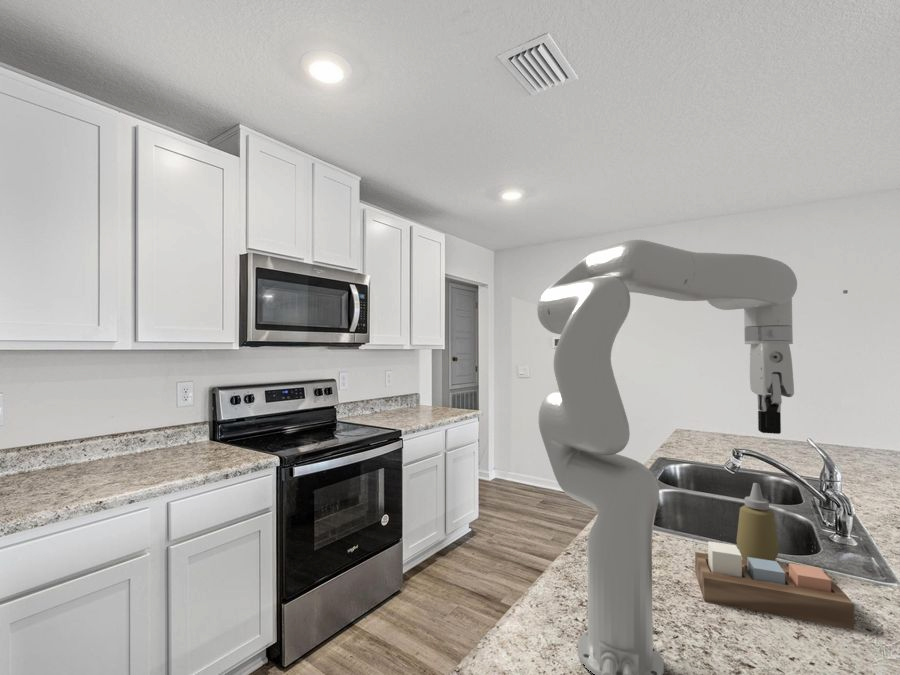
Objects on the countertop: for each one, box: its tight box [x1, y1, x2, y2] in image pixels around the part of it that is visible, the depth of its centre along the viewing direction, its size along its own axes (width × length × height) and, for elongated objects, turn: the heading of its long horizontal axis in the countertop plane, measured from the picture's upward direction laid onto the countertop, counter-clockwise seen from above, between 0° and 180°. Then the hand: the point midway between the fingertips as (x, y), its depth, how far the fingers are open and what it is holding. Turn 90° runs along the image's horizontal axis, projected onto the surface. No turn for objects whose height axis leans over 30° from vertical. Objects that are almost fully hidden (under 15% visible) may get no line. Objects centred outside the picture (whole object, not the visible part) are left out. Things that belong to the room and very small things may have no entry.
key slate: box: [747, 557, 785, 585], centre depth 87 cm, size 5×5×5 cm
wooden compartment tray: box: [694, 551, 855, 631], centre depth 87 cm, size 12×23×4 cm, turn 68°
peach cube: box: [788, 563, 831, 592], centre depth 85 cm, size 5×5×5 cm
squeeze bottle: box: [735, 482, 780, 561], centre depth 102 cm, size 8×8×18 cm
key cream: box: [707, 541, 742, 577], centre depth 90 cm, size 5×5×5 cm
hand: (769, 432), depth 84 cm, fingers closed
